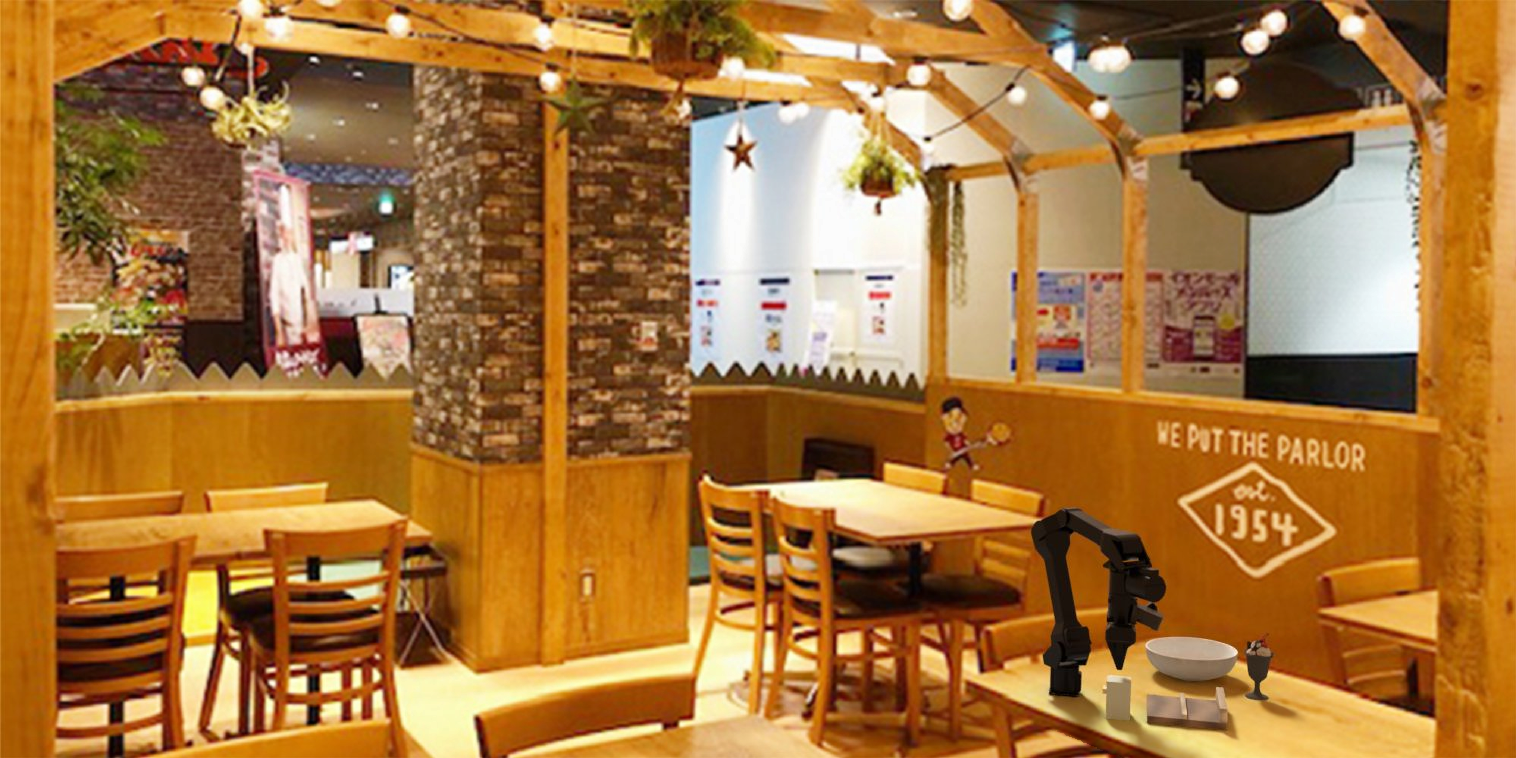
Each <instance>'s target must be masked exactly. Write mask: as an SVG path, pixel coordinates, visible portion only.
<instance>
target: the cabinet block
mask: <svg viewBox="0 0 1516 758" xmlns="http://www.w3.org/2000/svg"><path fill="white" fill-rule="evenodd" d="M1131 692H1132V677H1131V676H1121V675H1110V674H1107V676H1106V685H1105V684H1102V694H1103V695H1106V698H1105V699H1106V700H1105V719H1109V720H1118V721H1119V720H1120V721H1131V699H1132V697H1131V696H1132V693H1131Z"/></svg>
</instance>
